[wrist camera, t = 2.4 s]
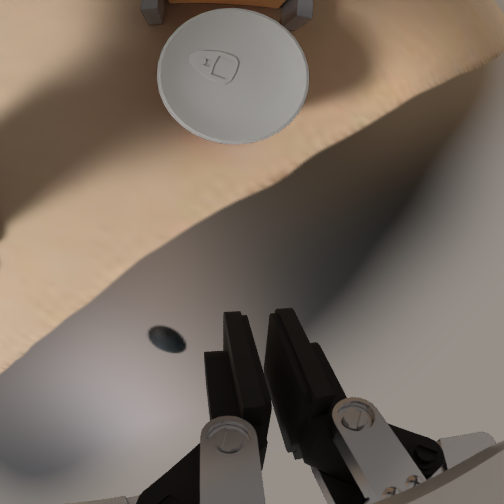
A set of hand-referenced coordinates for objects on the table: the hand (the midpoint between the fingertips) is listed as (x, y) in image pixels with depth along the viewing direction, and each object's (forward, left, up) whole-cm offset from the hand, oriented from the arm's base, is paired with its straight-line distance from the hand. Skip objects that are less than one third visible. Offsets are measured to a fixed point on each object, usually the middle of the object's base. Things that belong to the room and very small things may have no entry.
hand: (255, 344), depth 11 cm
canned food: (+10, 0, -19) cm, 22 cm away
